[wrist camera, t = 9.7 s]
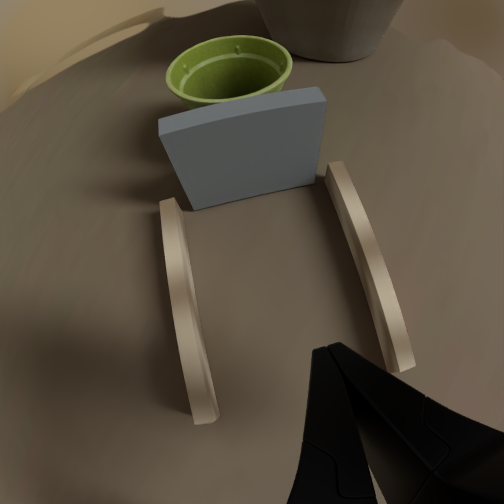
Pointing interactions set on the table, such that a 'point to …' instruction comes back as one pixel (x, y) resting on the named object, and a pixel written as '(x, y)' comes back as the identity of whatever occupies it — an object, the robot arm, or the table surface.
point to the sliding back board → (246, 145)
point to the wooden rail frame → (366, 263)
